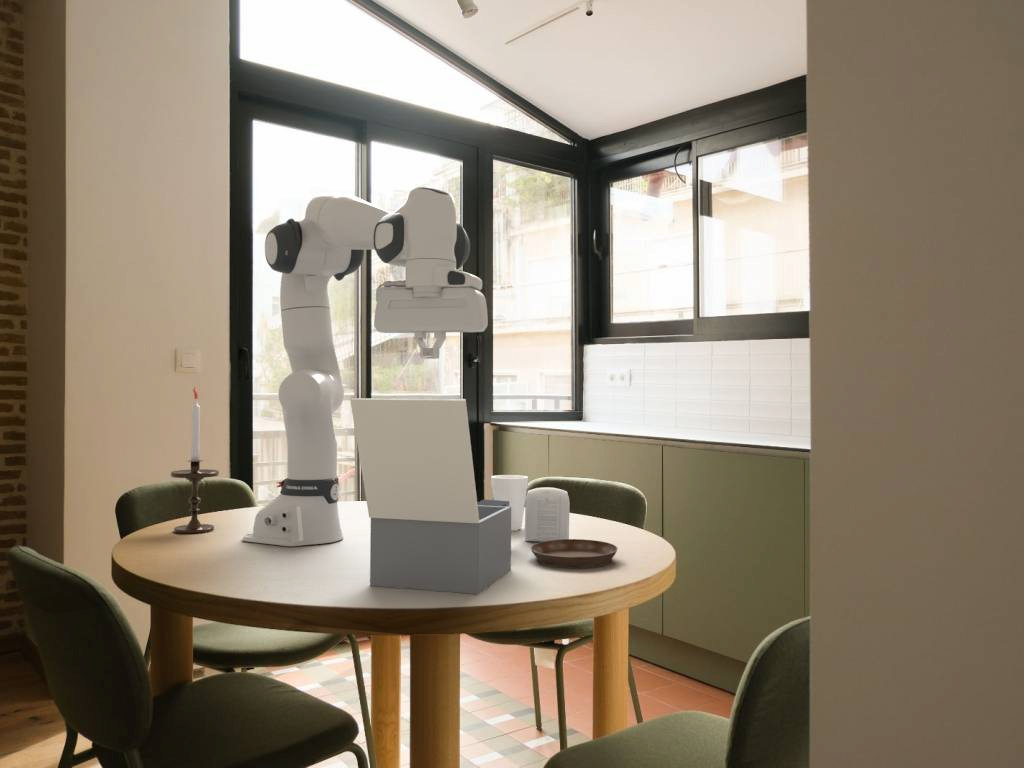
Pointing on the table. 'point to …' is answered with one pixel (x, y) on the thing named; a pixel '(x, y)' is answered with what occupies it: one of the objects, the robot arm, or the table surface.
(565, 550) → the plant saucer
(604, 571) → the table surface
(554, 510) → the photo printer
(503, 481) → the foam cup
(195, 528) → the candlestick
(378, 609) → the table surface
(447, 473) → the lid flap
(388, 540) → the carton
